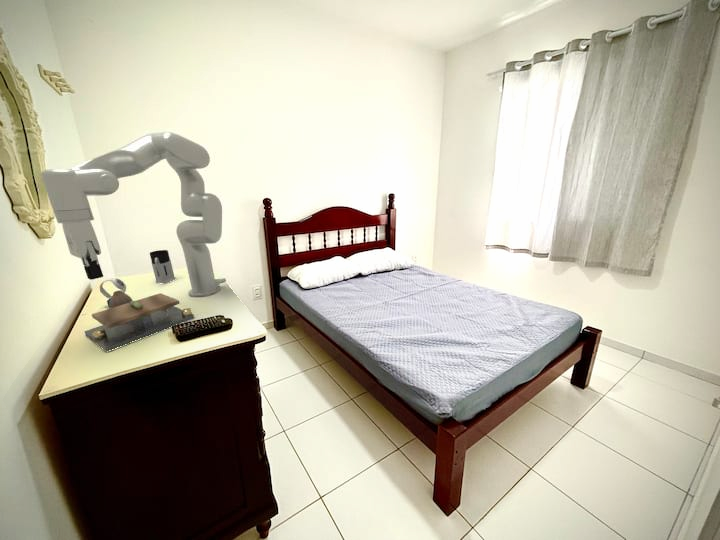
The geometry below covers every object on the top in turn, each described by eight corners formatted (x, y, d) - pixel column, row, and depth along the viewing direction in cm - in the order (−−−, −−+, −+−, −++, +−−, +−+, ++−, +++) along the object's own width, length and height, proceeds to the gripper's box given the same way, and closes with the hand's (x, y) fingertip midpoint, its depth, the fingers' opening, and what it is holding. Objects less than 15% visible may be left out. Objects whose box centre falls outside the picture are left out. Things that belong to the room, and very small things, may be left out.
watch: (128, 305, 116) (120, 279, 112) (103, 309, 113) (94, 282, 109) (132, 300, 121) (125, 275, 117) (108, 304, 117) (100, 278, 114)
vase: (110, 318, 104) (103, 296, 101) (115, 311, 110) (108, 290, 107) (133, 314, 107) (127, 292, 104) (137, 307, 113) (131, 286, 110)
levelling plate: (161, 297, 108) (159, 288, 107) (180, 304, 100) (177, 296, 99) (93, 318, 92) (89, 309, 91) (109, 329, 84) (105, 319, 83)
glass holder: (177, 277, 150) (170, 249, 145) (172, 285, 137) (165, 255, 133) (157, 279, 146) (150, 251, 142) (151, 288, 134) (142, 257, 129)
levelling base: (168, 307, 113) (165, 294, 111) (194, 318, 102) (191, 304, 101) (85, 335, 93) (80, 320, 91) (107, 352, 83) (101, 335, 81)
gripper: (49, 216, 81) (71, 277, 87) (64, 219, 73) (88, 286, 79) (83, 213, 87) (102, 270, 93) (101, 215, 79) (120, 278, 85)
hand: (95, 277), depth 86 cm, fingers closed
